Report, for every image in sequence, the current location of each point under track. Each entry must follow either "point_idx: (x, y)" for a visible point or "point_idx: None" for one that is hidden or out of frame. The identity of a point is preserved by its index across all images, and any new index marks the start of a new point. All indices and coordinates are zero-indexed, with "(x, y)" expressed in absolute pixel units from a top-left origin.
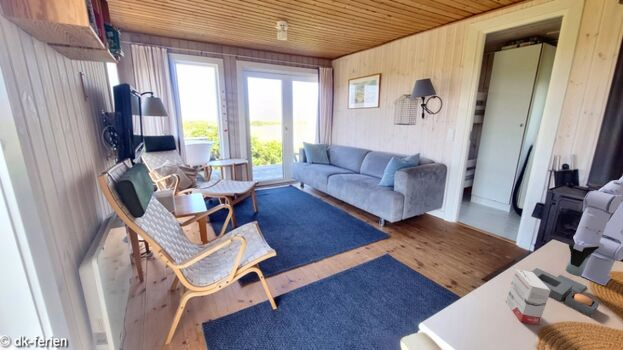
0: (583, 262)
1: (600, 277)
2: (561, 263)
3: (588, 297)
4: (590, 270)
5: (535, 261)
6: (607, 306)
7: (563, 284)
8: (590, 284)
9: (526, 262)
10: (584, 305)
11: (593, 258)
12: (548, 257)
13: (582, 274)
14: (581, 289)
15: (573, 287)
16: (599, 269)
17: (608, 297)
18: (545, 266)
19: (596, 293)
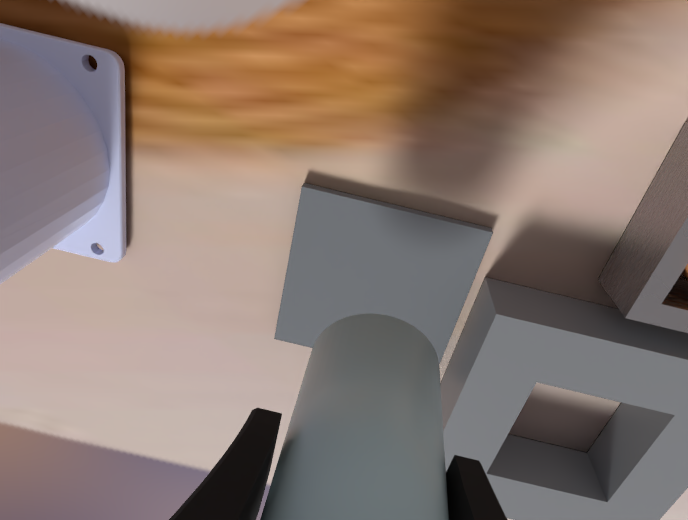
0: (438, 504)
1: (55, 106)
2: (35, 321)
3: (681, 221)
4: (60, 208)
5: (202, 445)
6: (546, 38)
7: (567, 372)
8: (207, 151)
9: None
10: None
11: None
12: (33, 386)
13: (96, 212)
14: (408, 221)
15: (426, 268)
16: (10, 165)
17: (336, 23)
18: (217, 401)
19: (349, 114)
